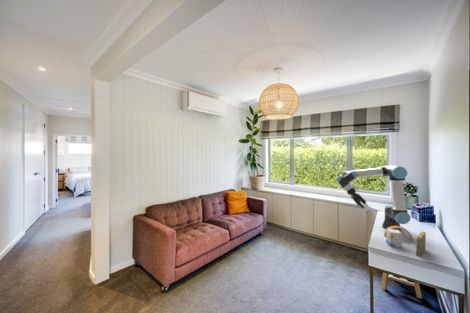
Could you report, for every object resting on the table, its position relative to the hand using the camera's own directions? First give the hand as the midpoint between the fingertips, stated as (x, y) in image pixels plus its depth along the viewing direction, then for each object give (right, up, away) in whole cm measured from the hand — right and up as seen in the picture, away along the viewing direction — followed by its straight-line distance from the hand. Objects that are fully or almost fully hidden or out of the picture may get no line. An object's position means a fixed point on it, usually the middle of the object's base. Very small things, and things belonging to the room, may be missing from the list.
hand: (368, 210), depth 186 cm
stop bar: (+22, -25, -28) cm, 44 cm away
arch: (+26, -25, -1) cm, 36 cm away
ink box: (+12, -25, -15) cm, 31 cm away
